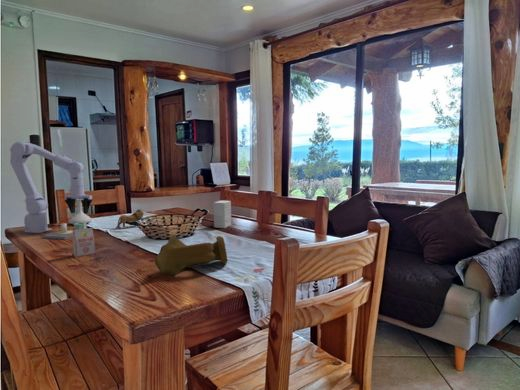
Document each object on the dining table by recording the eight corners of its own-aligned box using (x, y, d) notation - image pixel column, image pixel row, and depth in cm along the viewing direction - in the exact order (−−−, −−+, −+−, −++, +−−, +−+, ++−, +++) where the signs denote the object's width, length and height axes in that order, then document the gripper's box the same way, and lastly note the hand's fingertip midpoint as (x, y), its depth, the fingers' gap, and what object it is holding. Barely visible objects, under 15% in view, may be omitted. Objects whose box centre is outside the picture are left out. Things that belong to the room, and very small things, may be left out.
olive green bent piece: (161, 240, 130) (221, 228, 133) (167, 276, 128) (228, 263, 131) (150, 236, 112) (220, 223, 115) (157, 278, 110) (228, 263, 113)
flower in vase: (71, 222, 200) (67, 177, 197) (93, 221, 204) (90, 177, 200) (66, 227, 188) (62, 179, 185) (90, 225, 191) (86, 178, 188)
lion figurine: (142, 224, 193) (141, 208, 192) (146, 226, 189) (145, 209, 188) (114, 228, 184) (113, 211, 183) (117, 230, 180) (116, 212, 179)
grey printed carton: (73, 255, 138) (71, 229, 137) (92, 251, 142) (90, 227, 141) (76, 257, 135) (74, 231, 134) (95, 253, 140) (93, 228, 138)
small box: (220, 224, 193) (220, 200, 191) (231, 225, 191) (231, 200, 189) (213, 227, 185) (213, 202, 184) (224, 228, 183) (224, 202, 181)
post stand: (42, 238, 165) (41, 226, 164) (64, 231, 178) (63, 220, 177) (65, 239, 162) (64, 227, 162) (85, 232, 175) (84, 221, 174)
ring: (71, 230, 180) (71, 224, 179) (79, 228, 185) (79, 222, 185) (81, 231, 178) (81, 224, 178) (89, 228, 184) (88, 222, 183)
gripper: (95, 185, 181) (97, 212, 183) (70, 185, 184) (72, 211, 186) (85, 187, 174) (87, 214, 176) (60, 186, 178) (62, 213, 179)
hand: (79, 213), depth 181 cm, fingers open, 7 cm apart
